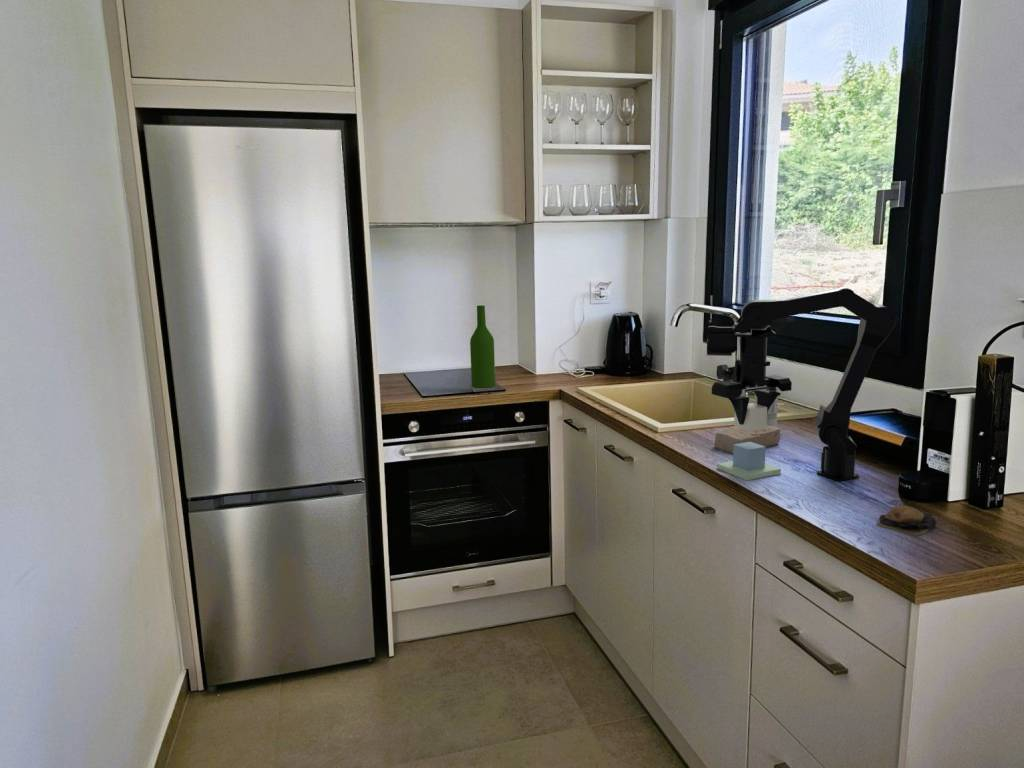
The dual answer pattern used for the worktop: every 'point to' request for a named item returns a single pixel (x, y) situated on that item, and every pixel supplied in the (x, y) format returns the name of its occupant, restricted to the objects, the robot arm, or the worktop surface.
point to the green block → (750, 474)
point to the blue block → (749, 456)
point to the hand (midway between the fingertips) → (750, 422)
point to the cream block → (753, 418)
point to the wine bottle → (482, 354)
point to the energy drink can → (771, 412)
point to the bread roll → (907, 520)
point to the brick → (747, 437)
